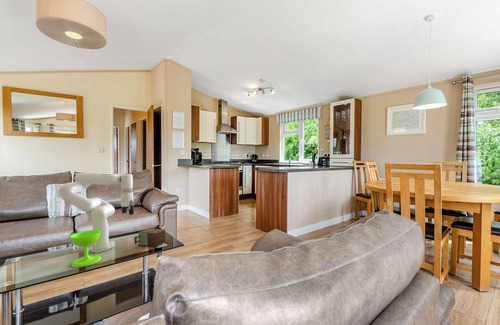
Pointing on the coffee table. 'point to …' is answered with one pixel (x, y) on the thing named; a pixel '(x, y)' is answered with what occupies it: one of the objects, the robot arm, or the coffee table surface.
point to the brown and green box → (154, 237)
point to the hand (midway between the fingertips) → (127, 213)
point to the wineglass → (85, 247)
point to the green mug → (142, 238)
